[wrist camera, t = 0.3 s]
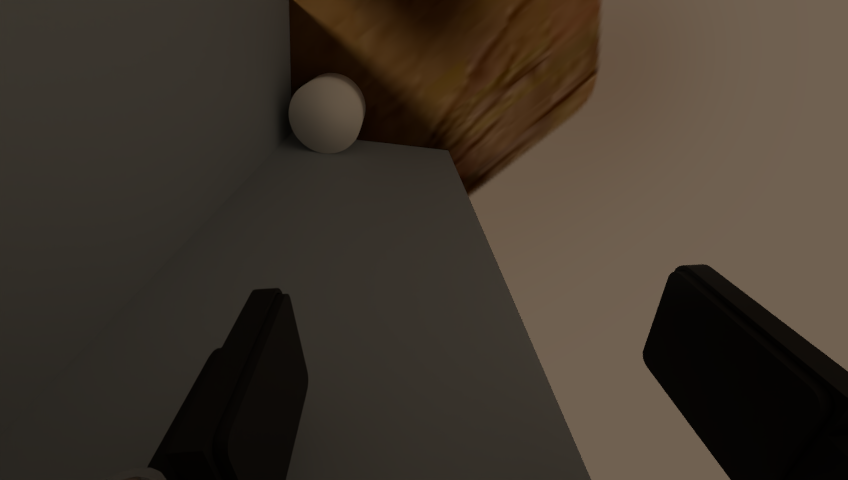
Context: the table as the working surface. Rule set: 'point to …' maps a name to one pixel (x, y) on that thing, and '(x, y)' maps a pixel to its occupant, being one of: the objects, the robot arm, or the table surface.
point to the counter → (238, 258)
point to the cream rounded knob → (327, 113)
